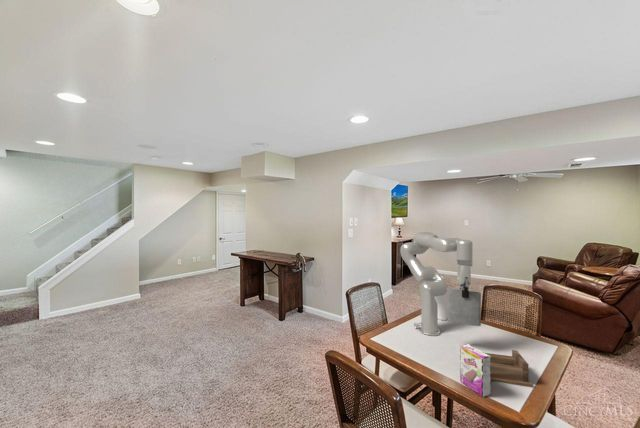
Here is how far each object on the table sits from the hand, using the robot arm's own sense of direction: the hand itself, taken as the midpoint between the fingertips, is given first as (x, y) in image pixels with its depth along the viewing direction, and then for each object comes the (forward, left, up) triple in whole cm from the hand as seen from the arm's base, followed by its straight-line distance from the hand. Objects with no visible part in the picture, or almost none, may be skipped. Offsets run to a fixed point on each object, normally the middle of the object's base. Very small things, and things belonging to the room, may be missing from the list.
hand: (464, 295), depth 145 cm
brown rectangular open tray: (+9, -18, -30) cm, 36 cm away
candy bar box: (-3, -33, -30) cm, 45 cm away
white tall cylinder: (-6, +45, -30) cm, 54 cm away
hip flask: (0, 0, -15) cm, 15 cm away
